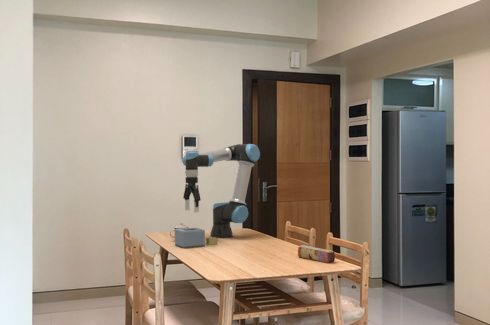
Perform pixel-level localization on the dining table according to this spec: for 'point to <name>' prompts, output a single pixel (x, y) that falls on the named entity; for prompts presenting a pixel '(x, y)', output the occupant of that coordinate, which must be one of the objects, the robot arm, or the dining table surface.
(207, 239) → the rectangular block
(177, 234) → the grey box with opening
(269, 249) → the dining table surface
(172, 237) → the teacup with lid
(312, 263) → the dining table surface
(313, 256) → the snack package
